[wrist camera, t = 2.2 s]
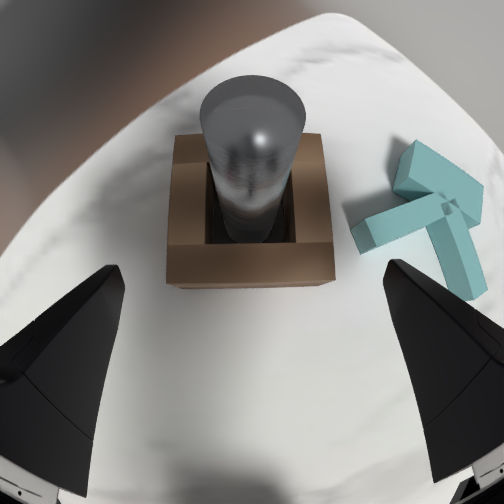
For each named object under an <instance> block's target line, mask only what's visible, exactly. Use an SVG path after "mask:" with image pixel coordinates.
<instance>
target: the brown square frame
mask: <svg viewBox="0 0 504 504" xmlns="http://www.w3.org/2000/svg"><path fill="white" fill-rule="evenodd" d="M214 190H216V186H215V182H214V178H213V174H212V170H211V165H210V161H209V157H208V153H207V148H206V144H205V140H204V135H203V134H190V135H177V136H175V143H174V152H173V162H172V174H171V186H170V199H169V216H168V236H167V269H166V283H167V284H170V285H173V286H176V287H179V288H182V289H226V288H274V287H305V286H319V285H322V284H325V283H328V282H331V281H334V280H336V277H335V261H334V246H333V234H332V223H331V212H330V203H329V193H328V185H327V177H326V169H325V161H324V154H323V147H322V140H321V134H313V133H302V135H301V138H300V142H299V145H298V148H297V151H296V154H295V158H294V161H293V164H292V167H291V170H290V174H289V177H288V180H287V183H286V186H285V189H284V192H283V206H284V224H285V243H247V244H213V207H214Z"/></svg>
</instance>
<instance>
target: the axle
mask: <svg viewBox="0 0 504 504" xmlns="http://www.w3.org/2000/svg"><path fill="white" fill-rule="evenodd" d="M305 121H306V112H305V108H304V105H303V103H302V101H301V99H300V97H299V96H298V95H297V94H296V93H295V91H294V90H292V89H291V88H290V87H289V86H287V85H286V84H284V83H282V82H280V81H278V80H275V79H273V78H269V77H265V76H257V75H246V76H239V77H235V78H231V79H228V80H226V81H224V82H222V83H220V84H218V85H217V86H216V87H214V88H213V89H212V90H211V91H210V92H209V93H208V94H207V96H206V97H205V99H204V100H203V102H202V105H201V109H200V122H201V126H202V131H203V135H204V140H205V144H206V148H207V153H208V157H209V161H210V165H211V170H212V174H213V178H214V182H215V186H216V191H217V195H218V199H219V203H220V207H221V211H222V215H223V219H224V224H225V228H226V231H227V233H228V234H229V236H230V237H231V238H232V239H233V240H234V241H236V242H237V243H239V244H247V243H261V242H262V241H264V240H265V239H266V238H267V237H268V236H269V234H270V232H271V230H272V227H273V224H274V221H275V218H276V214H277V211H278V208H279V205H280V202H281V199H282V196H283V192H284V189H285V186H286V183H287V180H288V177H289V174H290V170H291V167H292V164H293V161H294V158H295V154H296V151H297V148H298V145H299V142H300V138H301V135H302V132H303V129H304V125H305Z"/></svg>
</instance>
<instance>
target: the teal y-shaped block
mask: <svg viewBox="0 0 504 504" xmlns="http://www.w3.org/2000/svg"><path fill="white" fill-rule="evenodd" d="M483 188H484V186H483V185H482V184H480V183H479V182H478V181H477V180H475V179H474V178H473V177H471V176H470V175H469V174H467V173H466V172H464V171H463V170H462V169H460V168H459V167H457V166H456V165H455V164H453V163H452V162H450V161H449V160H447V159H446V158H444V157H443V156H441V155H440V154H438V153H437V152H435V151H434V150H432V149H431V148H429V147H427V146H426V145H424V144H423V143H421V142H419V141H418V140H415V141H414V142H413V143H412V144H411V145H410V146H409V147H408V149H407V150H406V151H405V152H404V153H403V154H402V155H401V157H400V162H399V166H398V170H397V174H396V178H395V182H394V186H393V189H392V191H393V192H395V193H396V194H398V195H400V196H402V197H404V198H405V199H407V200H409V201H410V202H409V203H406V204H403V205H401V206H398V207H395V208H393V209H390V210H387V211H385V212H382V213H379V214H376V215H374V216H371V217H368V218H366V219H364V220H363V221H361V222H360V223H359V224H358V225H356V226H355V227H354V228H353V229H351V233H352V235H353V237H354V240H355V242H356V245H357V247H358V250H359V252H360V255H361V254H363V253H365V252H368V251H370V250H373V249H375V248H377V247H380V246H382V245H384V244H387V243H389V242H391V241H394V240H396V239H398V238H401V237H403V236H405V235H407V234H410V233H412V232H414V231H417V230H419V229H421V228H423V227H425V226H426V228H427V231H428V233H429V236H430V238H431V241H432V243H433V246H434V248H435V251H436V254H437V256H438V259H439V262H440V265H441V268H442V271H443V274H444V277H445V280H446V283H447V286H448V289H449V291H451V292H452V293H453V294H455V295H456V296H458V297H459V298H461V299H462V300H464V301H470V300H475V299H476V298H478V297H479V296H480V295H482V294H483V293H484V292H486V291H487V290H488V288H487V285H486V281H485V278H484V274H483V271H482V268H481V265H480V262H479V259H478V256H477V253H476V250H475V247H474V244H473V241H472V238H471V236H470V233H469V230H468V229H470V228H472V227H474V226H477V225H479V224H480V222H481V213H482V202H483Z"/></svg>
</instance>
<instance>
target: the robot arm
mask: <svg viewBox="0 0 504 504" xmlns="http://www.w3.org/2000/svg"><path fill="white" fill-rule="evenodd" d="M383 286H384V290H385V294H386V298H387V302H388V306H389V310H390V314H391V318H392V322H393V325H394V328H395V331H396V334H397V337H398V340H399V343H400V346H401V349H402V352H403V356H404V359H405V362H406V365H407V369H408V372H409V375H410V379H411V382H412V386H413V390H414V393H415V397H416V401H417V405H418V409H419V413H420V417H421V421H422V425H423V429H424V430H423V431H424V435H425V440H426V445H427V449H428V455H429V460H430V465H431V471H432V477H433V482H434V483H437V482H439V481H441V480H443V479H446V478H448V477H450V476H452V475H454V474H456V473H459V472H461V471H463V470H465V469H467V468H469V467H470V466H472V470H473V473H474V476H472V477H470V478H468V479H466V480H464V481H462V482H460V484H459V486H458V488H457V490H456V492H455V494H454V496H453V498H452V500H451V502H450V504H504V328H502V327H501V326H499V325H498V324H496V323H495V322H493V321H492V320H490V319H489V318H487V317H486V316H485V315H483V314H482V313H480V312H479V311H478V310H476V309H474V308H473V307H472V306H471V305H469V304H468V303H466V302H465V301H464V300H462V299H461V298H459V297H458V296H456V295H455V294H453V293H452V292H451V291H449V290H448V289H446V288H445V287H443V286H442V285H440V284H439V283H437V282H436V281H434V280H433V279H431V278H430V277H428V276H427V275H425V274H424V273H422V272H420V271H419V270H417V269H416V268H414V267H413V266H411V265H410V264H408V263H406V262H405V261H403V260H402V259H391V260H390V261H389V262H388V265H387V268H386V271H385V274H384V278H383ZM124 292H125V284H124V281H123V278H122V275H121V272H120V269H119V267H118V265H105V266H104V267H102V268H101V269H100V270H98V271H97V272H95V273H94V274H93V275H91V276H90V277H89V278H87V279H86V280H85V281H83V282H82V283H81V284H79V285H78V286H77V287H75V288H74V289H73V290H71V291H70V292H69V293H67V294H66V295H65V296H63V297H62V298H61V299H60V300H58V301H57V302H56V303H54V304H53V305H52V306H51V307H49V308H48V309H47V310H46V311H44V312H43V313H42V314H41V315H39V316H38V317H37V318H36V319H35V321H32V322H31V323H30V324H28V325H27V326H26V327H25V328H23V329H22V330H21V331H20V332H19V333H17V334H16V335H15V336H13V337H12V338H11V339H9V340H8V341H7V342H6V343H4V344H3V345H2V346H0V504H61V503H60V501H59V499H58V493H59V489H62V490H64V491H67V492H70V493H73V494H75V495H78V496H81V497H84V498H86V496H87V488H88V478H89V469H90V461H91V454H92V447H93V440H94V433H95V427H96V422H97V416H98V411H99V406H100V401H101V396H102V391H103V387H104V382H105V378H106V373H107V369H108V365H109V361H110V357H111V353H112V349H113V345H114V342H115V338H116V334H117V330H118V325H119V320H120V314H121V308H122V302H123V297H124Z"/></svg>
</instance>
